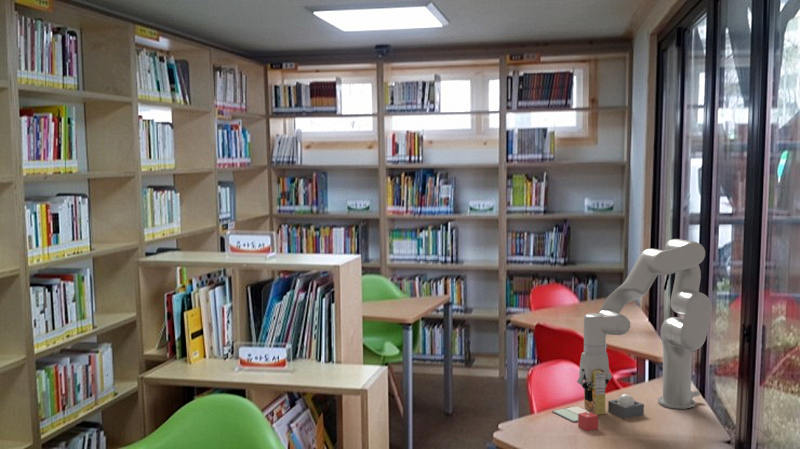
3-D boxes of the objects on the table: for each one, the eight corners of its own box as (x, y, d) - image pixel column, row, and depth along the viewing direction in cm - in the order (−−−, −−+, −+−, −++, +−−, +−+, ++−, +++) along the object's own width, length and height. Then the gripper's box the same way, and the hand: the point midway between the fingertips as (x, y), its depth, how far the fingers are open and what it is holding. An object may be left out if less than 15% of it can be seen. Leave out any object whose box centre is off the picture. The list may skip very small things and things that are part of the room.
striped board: (576, 407, 255) (576, 405, 254) (599, 417, 244) (599, 416, 244) (552, 412, 250) (552, 410, 250) (573, 422, 239) (573, 421, 239)
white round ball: (626, 406, 251) (626, 390, 251) (637, 411, 246) (637, 395, 246) (614, 408, 249) (614, 393, 248) (625, 413, 244) (625, 397, 243)
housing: (626, 407, 253) (626, 397, 253) (643, 414, 245) (643, 404, 245) (608, 411, 249) (608, 401, 249) (625, 418, 242) (625, 408, 242)
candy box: (583, 407, 254) (582, 365, 253) (594, 405, 255) (593, 364, 254) (595, 415, 246) (594, 372, 245) (606, 414, 247) (605, 371, 246)
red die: (588, 424, 237) (588, 411, 237) (597, 428, 233) (598, 415, 233) (578, 426, 235) (578, 413, 235) (587, 431, 231) (587, 417, 231)
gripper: (606, 343, 256) (606, 392, 257) (568, 349, 249) (568, 400, 250) (621, 348, 249) (620, 398, 250) (582, 354, 242) (582, 406, 243)
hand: (594, 398), depth 250 cm, fingers closed on candy box, 5 cm apart
